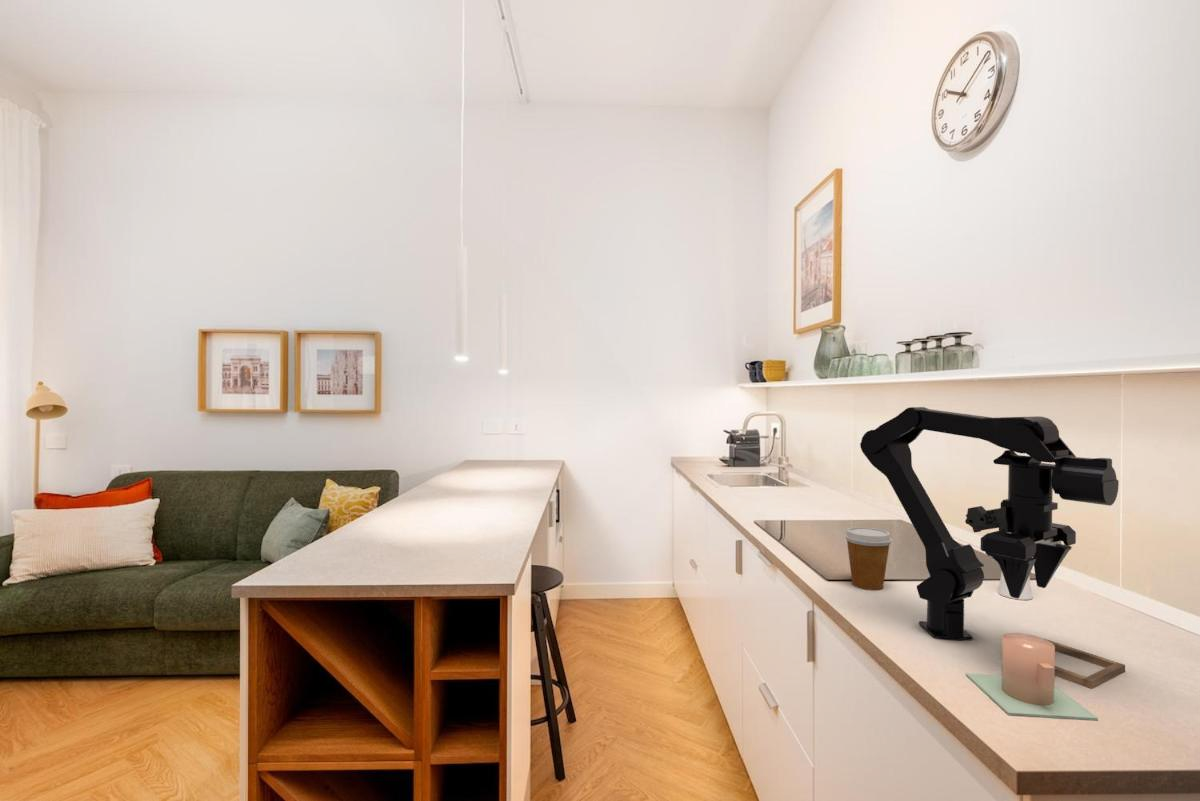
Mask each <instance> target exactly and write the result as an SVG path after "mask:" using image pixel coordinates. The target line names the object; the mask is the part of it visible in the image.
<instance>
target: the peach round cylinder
mask: <svg viewBox="0 0 1200 801" xmlns="http://www.w3.org/2000/svg"><path fill="white" fill-rule="evenodd" d="M1043 638H1044V637H1041V636H1040V637H1039V636H1036V635H1033V634H1028V633H1024V632H1023V633H1022V632H1006V633H1003V634H1002V635H1001V675H1002V690H1003V692H1004V693H1006V694H1007V695H1008V696H1010V697H1012V698H1014V699H1016V700H1019V701H1022V702H1025V703H1029V704H1034V705H1051V704H1053V703H1054V685H1055V678H1056V675H1055V666H1056V663H1055V661H1056V650H1055V646H1054V644H1052V643H1051V642H1049V641H1048V640H1049V639H1047V638H1044V639H1043ZM1046 639H1047V640H1046Z"/></svg>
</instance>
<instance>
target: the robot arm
mask: <svg viewBox="0 0 1200 801" xmlns="http://www.w3.org/2000/svg"><path fill="white" fill-rule="evenodd" d="M1057 426H1058V425H1056V424H1055V422H1053V420H1052V419H1050V418H1047V417H1045V416H1040V415H1039V416H1006V417H990V416H985V415H984V416H983V415H976V414H969V413H968V414H967V413H961V412H953V411H944V410H938V409H930V408H928V407H925V406H915V407H914V406H912V407H907V408H905V409H904V410H903V411H901V412H899V414H898V415H896V416H895V417H893V418H891V419H889V420H887V421H886V422H883V423H882V424H881V425H879V426H877V427H876V428H875V429H869V430H868V431H866V432H865V433H864V434H863V435H862V437H861V442H860V443H859V444H860V445H859V446H860V449H861V452H862V453H863V456H865V458H866V459H867V460H868V461H869V463H870V464H871V465H872V466H873V467H874V468H875V469H876V470H878V472H880V473H881V474H882V475H884V476H885V477H886V478H887V480H888V482H889V484H890V485H891V488H892V490H893V491H894V493H895V495H896V497H897V499H898V500H899V503H900V504H901V506H902V507H903V509H904V511H905V513H906V515H907V517H908V519H909V521H910V522H911V523H910V524H912V526H913V528H914V530H915V532H916V533H917V535H918V537H919V538H920V541H921V543H922V544H923V547H924V549H925V551H924V552H925V565H926V569H927V572H928V573H929V577H927V578H926V579H925V580H923V581H921V582H920V583H919V584H917V585H916V590H917V593H918V596H919V598H920V599H922V600H924V601H926V620H925V621H923V620H920V621H919V622H918V624H919V626H921V627H922V628H923V630H925V631H926V632H927V633H928V634H930V636H932V637H933V638H936V639H949V640H950V639H953V640H954V639H955V640H973V639H974V636H973V635H972V634H971V633H969V632H968V631H967V630H965V599H967V598H972V595H973V593H974V591H976V590H978V589H979V588H980V587H981V586H982V585H983V583H984V582H983V581H984V579H985V574H984V571H983V569H982V568H984V567H985V564H983V563H982V561H981V560H980V559H979V558H978V557H977V555H976V552H975V550H974V548H973V546H972V545H971V544H970V543H969V544H965V545H961V544H960V543H959V542H957V541H956V540H955V539H954V538H953V537H952V535H951V533H950V531H949V530H948V528H947V527H946V525H945V523H944V521H943V520H942V518H941V515H940V514H939V512H938V511H937V508H936V507H935V505H934V504H933V502H932V500H931V498H930V497H929V495H928V493H927V492H926V489H925V488H924V485H923V484H922V483H921V481H920V479H919V477H918V476H917V474H916V472H915V470H914V468H913V462H912V450H911V448H910V444H912V443H913V442H914V441H916V439H918V437H919V436H920V435H921V433H922V432H923V431H929V432H936V433H937V432H938V433H943V434H948V435H949V434H950V435H954V436H955V435H956V436H962V437H968V438H973V439H979V440H983V441H986V442H988V443H991V444H992V445H995V446H997V447H999V448H1002V449H1006V450H1004V451H1003V452H1002V454H1000V455H999V456H998V457H996V458H995V459H993V464H995V465H1002V466H1008V472H1007V473H1008V474H1007V476H1008V478H1007V480H1008V481H1007V482H1008V483H1007V484H1008V486H1007V490H1008V491H1007V498H1005V499H1002V501H1001V502H1000V507H999V508H993V509H987V510H986V509H985V507H983V506H982V505H980V506H979V505H978V506H973V507H968V508H967V514H965V517H966V519H965V521H964V522H965V524H967V525H968V526H970V527H971V528H972V531H973V533H980V532H981V531H986V530H991V529H998V530H996V531H993V532H987V533H986V534H985V535H983V536H981V537H980V551H982V552H985V554H986V556H989V557H991V558H992V559H993V560H994V561H996V563H997V564H999V565H998V566H999V567H1000V570H1001V572H1002V573H1003V576H1004V579H1005V582H1006V585H1007V588H1008V591H1009V594H1010V596H1011V597H1014V598H1019V597H1020V595H1021V593H1022V591H1023V589H1024V586H1025V584H1026V582H1027V579H1028V577H1029V576H1030V575H1031V572H1032V570H1033V568H1034V576H1035V581H1036V587H1038V588H1042V589H1045V588H1047V586H1048V585H1049V583H1050V582H1051V580H1052V578H1053V577H1054V575H1055V573H1056V572H1057V569H1058V568H1059V567H1060V565H1061V564H1062V562H1063V561H1064V559H1065V557H1066V556H1067V554H1068V553H1069V552H1070V551H1071V550H1072V548H1073V547H1072V545H1075V544H1076V541H1077V540H1076V539H1077V538H1076V537H1077V535H1076V534H1077V533H1076V532H1077V531H1075V530H1074V529H1073V527H1071V526H1070V525H1067V524H1061V523H1054V522H1053V511H1056V510H1058V507H1059V506H1058V505H1059V504H1058V502H1053V496H1054V494H1055V495H1059V497H1060V499H1062V500H1065V501H1074V502H1079V503H1087V504H1094V505H1102V506H1113V504H1114V503H1115V502H1116V500H1117V496H1118V492H1119V486H1120V485H1119V483H1120V482H1119V479H1117V473H1116V471H1115V468H1114V467H1113V460H1112V458H1109V457H1096V458H1091V457H1090V458H1089V457H1079V456H1078V457H1077V456H1076V455H1075V453H1073V451H1072V450H1071V448H1069V446H1068V445H1067V444H1066V443H1065V442H1064V440H1063V439H1062V437H1060V430H1059V428H1058V427H1057ZM1017 453H1019V454H1017ZM1021 454H1026V455H1021ZM1051 463H1052V464H1051ZM1053 492H1054V494H1053ZM1008 532H1009V533H1008ZM1062 542H1063V544H1062Z"/></svg>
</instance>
